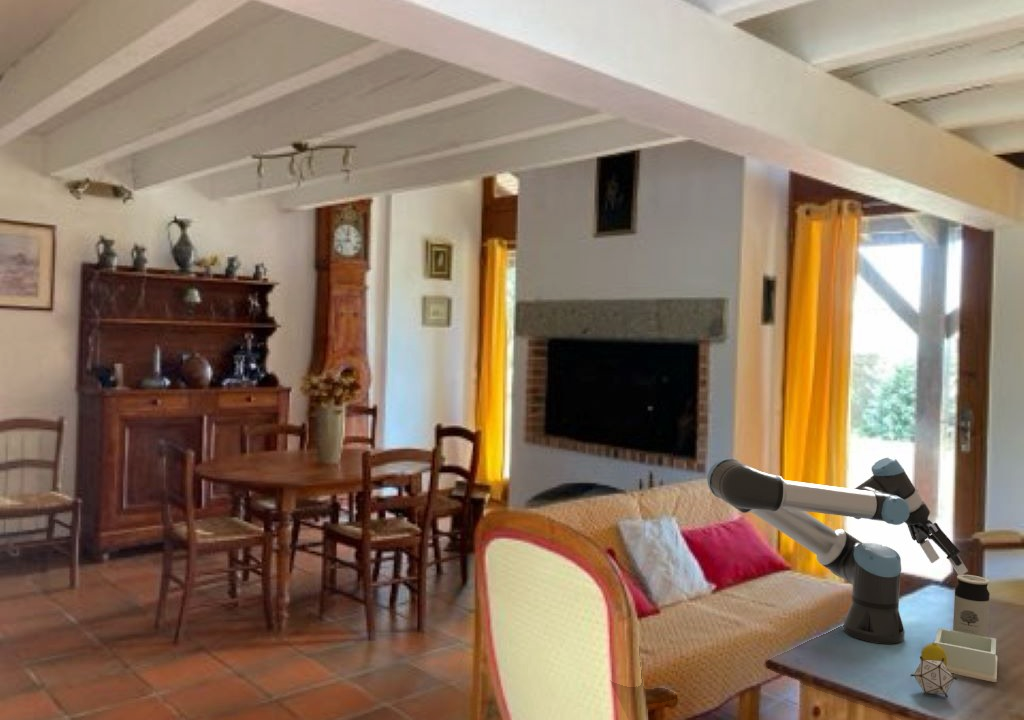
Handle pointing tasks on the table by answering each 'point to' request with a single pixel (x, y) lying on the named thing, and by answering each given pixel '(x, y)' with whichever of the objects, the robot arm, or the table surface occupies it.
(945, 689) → the game die
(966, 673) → the holder
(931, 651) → the lemon
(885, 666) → the table surface
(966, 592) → the travel mug
